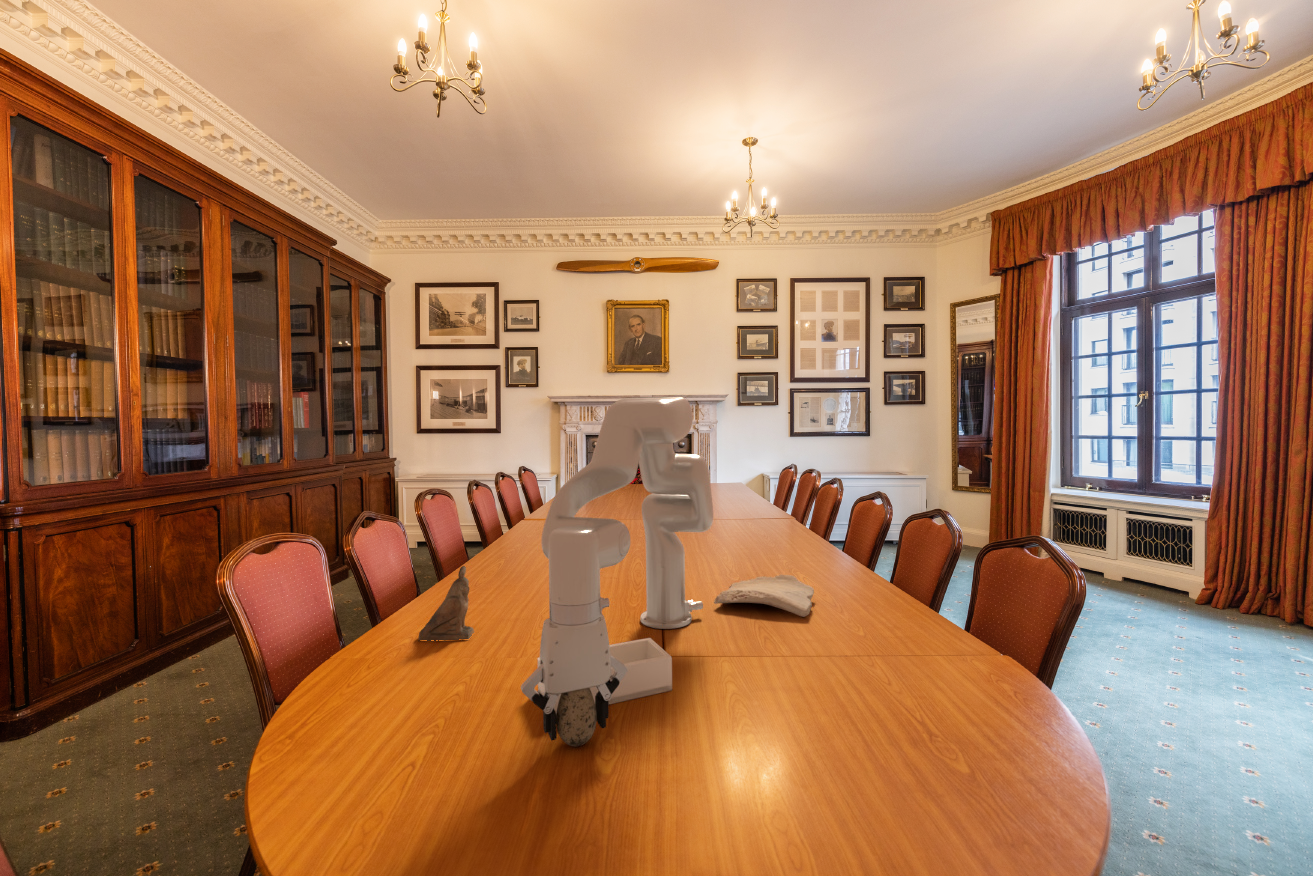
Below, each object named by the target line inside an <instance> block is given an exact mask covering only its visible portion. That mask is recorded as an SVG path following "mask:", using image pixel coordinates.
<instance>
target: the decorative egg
mask: <svg viewBox="0 0 1313 876" xmlns="http://www.w3.org/2000/svg"><path fill="white" fill-rule="evenodd" d="M596 726H597V715H596V707H595V702H594V699H593V696H592V693H591V690H590V688H586V689H581V690H576V691H572V692H567V693H562V694H561V696H560V699H559V703H558V707H557V714H556V731H557V733H558V736H559V737H560V739H561V740H562V741H563V743H565V744H566V745H568V746H571V747H581V746H583V745H584V744H587V742H589V741H590V739H591V738H592V736H593V734H594V733H595V730H596Z"/></svg>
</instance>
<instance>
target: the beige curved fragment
mask: <svg viewBox="0 0 1313 876" xmlns="http://www.w3.org/2000/svg"><path fill="white" fill-rule="evenodd" d="M814 594H815V588H813V587H812V586H810V585H808V584H805V583H804V582H801V581H800V580H799V579H798V578H797V577H796V576H795V575H790V574H779V575H774V577H773V576H765V575H764V576H757V577H755V578H751V579H749V580H747V579H746V580H741V581H739V582H733V583H732V584H730V585H729V586H728V589H727V590H723V591H720V593H719V594H718V595H716V598H715V599H714V601H713V603H714V604H715V605H716V604H732V603H733V604H734V603H739V604H740V603H750V604H751V603H752V604H761V605H763V604H764V605H768V606H771V607H774V608H776V609H777V608H778V609H782V610H784V611H786V612H789V613H792V614H795V615H797V616H799V617H802V618H806V617H807V616H808V615H810V613H811V610H812V607H813V605H812V598H813V596H814Z"/></svg>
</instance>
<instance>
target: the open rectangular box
mask: <svg viewBox="0 0 1313 876" xmlns="http://www.w3.org/2000/svg"><path fill="white" fill-rule="evenodd" d="M609 646H610V655H611V656H613V657H614V658H615V659H617V660H618V661H620V662H621V663H622V664H624V665H625V666H626V667H627V669H628V671H627V673H626V674H625V676H624V677H623V678H622V680H621V681H620V683H619V686H618V687H617V688H616V689H615V691H614V692H613V693H612V695H611V699H610V700H609V705H612V704H617V703H621V702H625V701H631V700H634V699H639V698H643V697H647V696H652V695H656V694H661V693H666V692H670V691H673V658H672V656H671V655H670V653H668V652H667V651H666V650H664V648H662V647H661V646H660V645H659V644H658V643H656V641H654V639H652V638H651V637H646V638H640V639H635V640H630V641H625V642H618V643H613V644H609ZM539 662H540V656H539V657H537V668H538V667H539ZM614 671H615V669H613V668H612V667H611V675H613V673H614ZM590 690H591V693H592V696H593V699H594V702H595V696H596V693H598V689H597V687H596V686H595V687H591V688H590ZM537 691H538V692H539V693H540V694H542V695H543V694H544V692H545V685H544V683H541V682H539V683H538V684H537ZM560 696H561V694H559V696H558V699H557V701H556V703H555V705H554V710H555V712H556V714H557V707H558V703H559V699H560Z"/></svg>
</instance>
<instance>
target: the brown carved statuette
mask: <svg viewBox="0 0 1313 876" xmlns="http://www.w3.org/2000/svg"><path fill="white" fill-rule="evenodd" d="M466 572H467V568H466V566H465V565H462V566H461V567H460V568H459V571H458V578H456V579H455V580H454V581H453V582H452V584H451V586H450V588H449V589H448V592H447V594H446V596H445V598H444V600H443V601H442V602H441V603H440V605H439V607H437V609H436V611H435V612H434V613H433V615H432V616H431V618H430V619H429V621H428V622H427V623H425V625H424V626H423V627H422V629H420V631H419V633H418V639H419V640H427V641H431V640H434V641H435V642H436V640H438V641H439V640H459V639H469V638H470V637H471V636H472V634H473V633H475V629H474V628H473V627H472V626H467V625H466V624H465V623H466V621H465V620H466V616H467V612H468V610H469V601H470V600H469V592H470V586H469V584H470V583H469V582H470V581H469V579H468V578H467V577H466V576H465V575H466ZM472 637H473V636H472ZM472 637H471V638H472ZM471 638H470V639H471ZM419 640H418V641H419Z"/></svg>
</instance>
